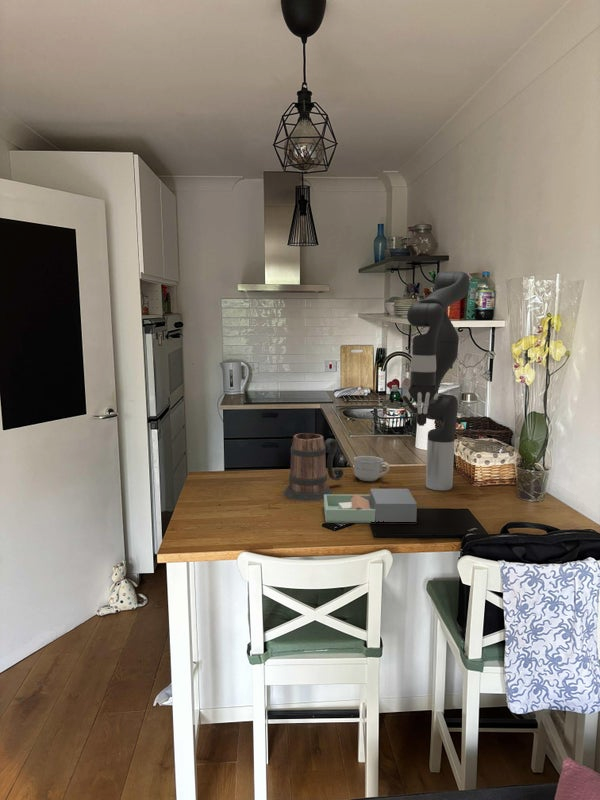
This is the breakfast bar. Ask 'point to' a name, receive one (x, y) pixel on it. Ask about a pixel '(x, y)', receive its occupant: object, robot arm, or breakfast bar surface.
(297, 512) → the breakfast bar surface
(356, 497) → the terracotta tile
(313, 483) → the tankard
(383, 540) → the breakfast bar surface
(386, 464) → the teacup
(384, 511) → the grey drawer casing
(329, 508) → the box
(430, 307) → the robot arm
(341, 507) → the cream tile
